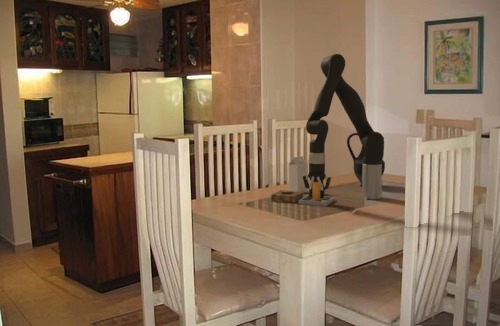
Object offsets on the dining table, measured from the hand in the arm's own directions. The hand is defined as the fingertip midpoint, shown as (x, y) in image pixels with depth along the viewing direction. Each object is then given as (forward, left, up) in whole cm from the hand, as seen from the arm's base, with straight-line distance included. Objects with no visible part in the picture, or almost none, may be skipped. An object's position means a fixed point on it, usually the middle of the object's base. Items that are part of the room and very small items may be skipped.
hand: (316, 197), depth 240 cm
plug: (0, 0, -2) cm, 2 cm away
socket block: (+15, 0, -3) cm, 15 cm away
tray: (0, 0, -3) cm, 3 cm away
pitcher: (-11, -53, -3) cm, 54 cm away
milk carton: (+18, -23, -3) cm, 29 cm away
